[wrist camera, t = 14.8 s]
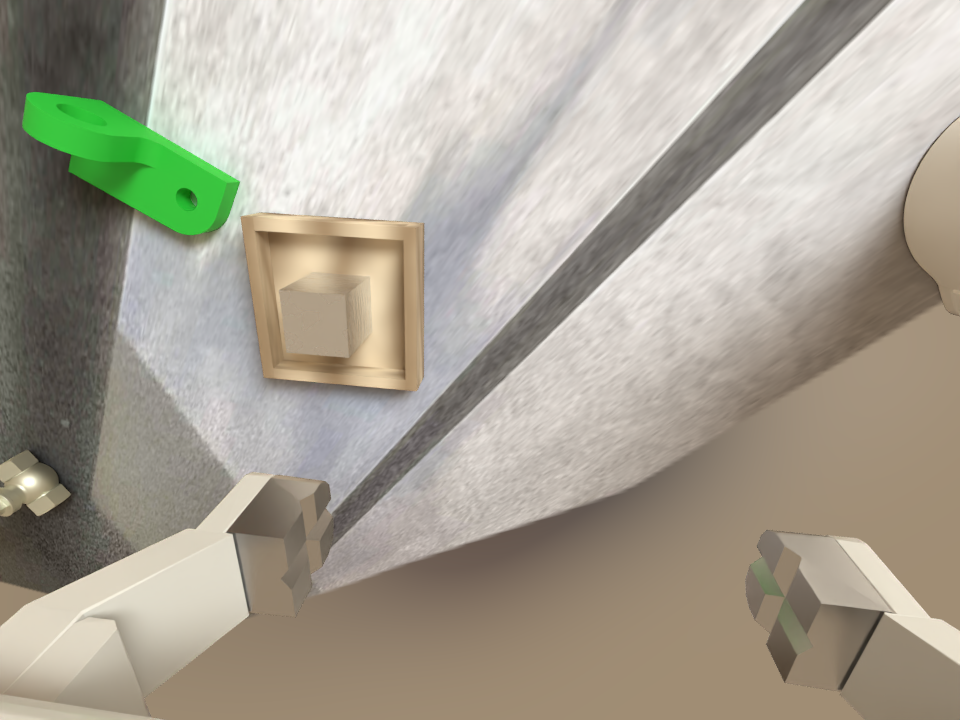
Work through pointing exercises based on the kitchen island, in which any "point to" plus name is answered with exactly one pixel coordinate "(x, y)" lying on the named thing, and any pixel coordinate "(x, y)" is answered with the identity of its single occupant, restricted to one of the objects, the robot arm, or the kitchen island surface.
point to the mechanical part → (132, 162)
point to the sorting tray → (351, 251)
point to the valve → (29, 485)
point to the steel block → (326, 314)
